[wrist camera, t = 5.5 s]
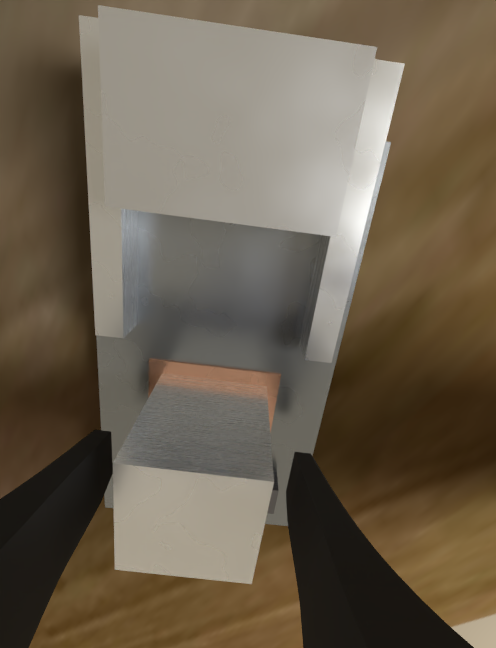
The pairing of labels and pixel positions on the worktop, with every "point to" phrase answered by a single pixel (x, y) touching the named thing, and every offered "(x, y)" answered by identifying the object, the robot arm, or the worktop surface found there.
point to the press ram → (228, 120)
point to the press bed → (226, 290)
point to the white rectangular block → (194, 481)
